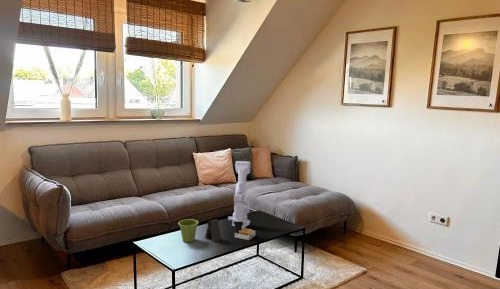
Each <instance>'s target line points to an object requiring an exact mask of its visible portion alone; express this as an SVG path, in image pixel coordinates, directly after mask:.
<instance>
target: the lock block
mask: <svg viewBox="0 0 500 289" xmlns="http://www.w3.org/2000/svg"><path fill="white" fill-rule="evenodd" d="M252 231H254V230H253V229H251V228H246V227H245V228H241V229H240V230H239V233H240V234H245V235H248V234H250V233H251V232H252Z"/></svg>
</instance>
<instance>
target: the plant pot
mask: <svg viewBox="0 0 500 289" xmlns="http://www.w3.org/2000/svg"><path fill="white" fill-rule="evenodd" d="M198 224H199V221H198V220H197V219H192V218H191V219H189V218H188V219H182V220H180V221H179V222H178V225H179V228H180V233H181V234H180V235H181V239H182V242H184V243H185V242H186V243H192V242H194V241H195V240H196V233H197V227H198Z"/></svg>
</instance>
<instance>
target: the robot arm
mask: <svg viewBox="0 0 500 289" xmlns="http://www.w3.org/2000/svg"><path fill="white" fill-rule="evenodd" d="M234 168H235V172H236V174H238V176H237V180H238V181H237V183H236V184H235V192H234V195H233V202H234V203H233V205H234V206H233V211H234V212H233V213H232V216H227V220H228V221H232V222H231V226H232V227H235V229H236V233H239V230H240V229H242V228H246V227H247V226H249V225H250V224H251V219H248V214H249V212H250V201H249V200H248V199H247V198H246V191H247V176H248V174H250V172H251V161H248V160H246V161H245V160H243V161H242V160H236V161H235V164H234Z"/></svg>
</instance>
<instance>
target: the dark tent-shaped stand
mask: <svg viewBox="0 0 500 289" xmlns="http://www.w3.org/2000/svg"><path fill="white" fill-rule="evenodd" d="M219 223H220V221H219V219H217V218H216V219H215V218H214V219H212V220H208V222H207V226H206V227H207V228H206V231H205V235H204V239H205V240H208V241H211V242H212V243H216V242H218V241H221V240H222V234H221V230H220V225H219Z"/></svg>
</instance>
